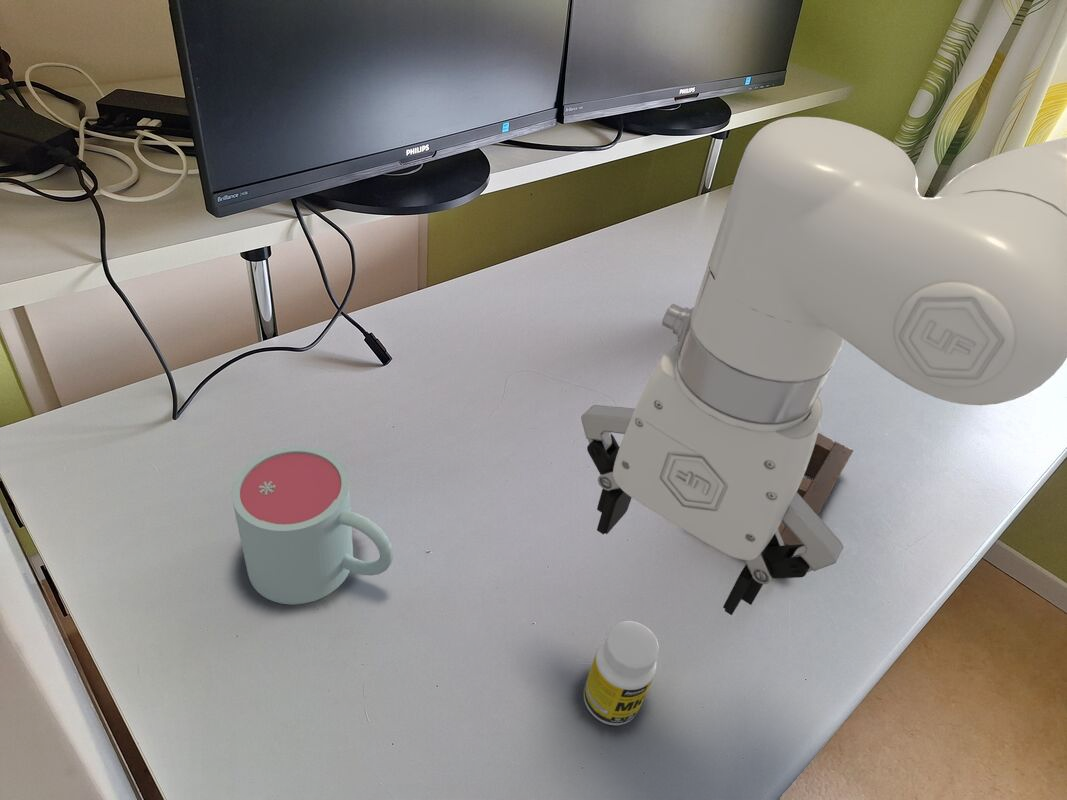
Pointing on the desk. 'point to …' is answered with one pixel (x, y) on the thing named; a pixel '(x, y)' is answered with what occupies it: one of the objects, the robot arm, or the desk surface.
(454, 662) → the desk surface
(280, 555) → the mug
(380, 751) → the desk surface
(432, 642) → the desk surface
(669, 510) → the robot arm
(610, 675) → the supplement bottle
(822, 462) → the holder
